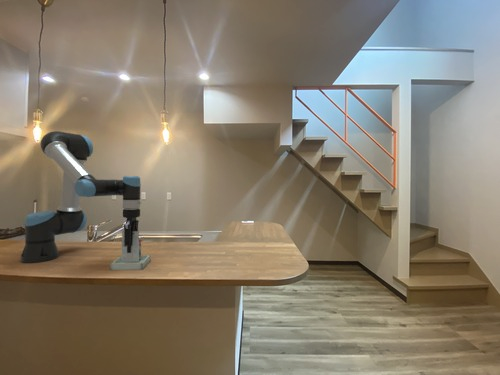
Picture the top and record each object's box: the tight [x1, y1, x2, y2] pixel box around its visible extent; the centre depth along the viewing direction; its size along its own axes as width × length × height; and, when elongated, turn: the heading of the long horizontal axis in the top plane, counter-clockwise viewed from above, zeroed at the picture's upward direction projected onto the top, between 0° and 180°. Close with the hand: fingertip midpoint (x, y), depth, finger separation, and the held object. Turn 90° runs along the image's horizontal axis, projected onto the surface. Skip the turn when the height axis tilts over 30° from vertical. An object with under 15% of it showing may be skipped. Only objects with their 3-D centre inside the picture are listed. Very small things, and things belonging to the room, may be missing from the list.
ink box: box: [121, 230, 142, 262], centre depth 125 cm, size 4×8×15 cm, turn 96°
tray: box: [109, 254, 151, 271], centre depth 126 cm, size 14×13×3 cm
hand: (131, 257), depth 125 cm, fingers closed on ink box, 4 cm apart
